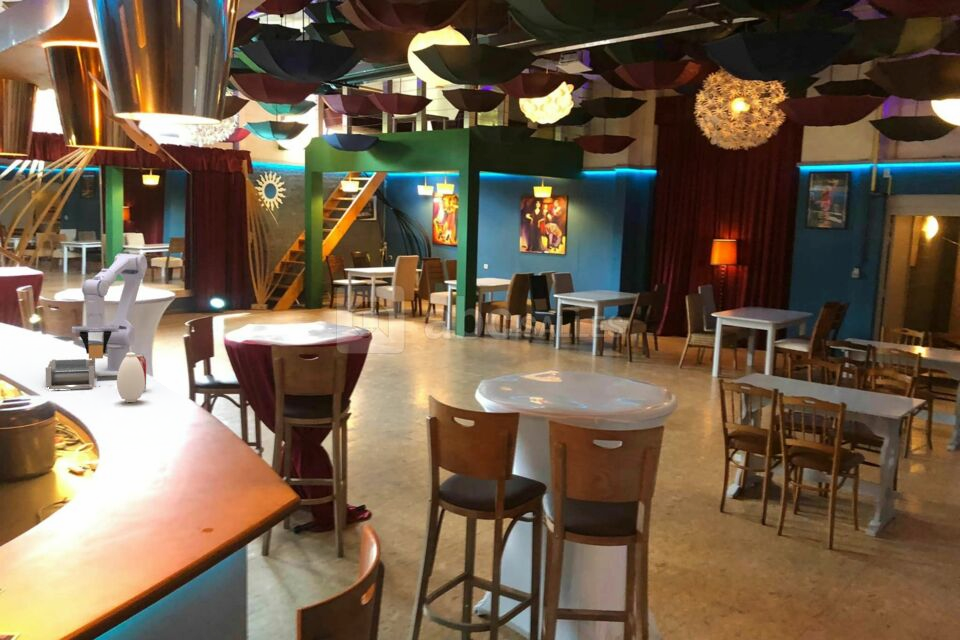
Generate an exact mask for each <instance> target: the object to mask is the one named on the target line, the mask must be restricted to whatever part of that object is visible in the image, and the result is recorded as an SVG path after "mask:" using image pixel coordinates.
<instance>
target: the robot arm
mask: <svg viewBox="0 0 960 640" xmlns="http://www.w3.org/2000/svg"><path fill="white" fill-rule="evenodd" d="M147 260H148V259H147V257H146V256H145V254H143V253H141V254H133V253H121V252H119V253H117V254H116V255H115V256H114V260H113V263H112V264H111V265H110V266H109V268H101V270H100V271H99V272H98V273H97V274H95V276H93V277H92V278H90V279H89V278H88V279H86V280H84V281H83V283H82V285H81V292H82V294H83V299H84V301H85V313H86V314H85V316H86V317H85V319H86V321H85V323H86V324H85V325H84V326H80V325H79V326H72V327H71V333H72V334H76V333H77V334H78V333H79V337H80V339H81V341H82V342H83V345H84V347H85V352H86V354H88V355H89V344H90V343H89V333H101V341H102V344H103V354H106V352H107V369H105V370H104V372H118V371H119V368H120V365H121V363H122V361H123V359H124V357H125V355H126V354H127V353H130V345H131V346H132V345H133V344H134V342H135V334H136V328H135V326H134V325H133V324H132V323H130V322H131V318H132V315H133V311H134V307H135V304H136V300H137V296H138V294H139V290H140V286H141V282H142V280H143V279H144V278H145V275H146V272H147V268H148V261H147ZM117 276H120V278H121V279H123V280H124V285H123V289H122V291H121V294H120V299H119V301H118V306H117V309H116V311H115V312H116V313H115V316H114V319H113V320H110V321H109V322H107V323H106V322H105V321H106V319H105V317H106V316H105V315H106V313H105V296H107V295H108V291H109V289H110V287H111V286H112V285H113V284H115V282H116V280H117ZM106 350H107V351H106Z"/></svg>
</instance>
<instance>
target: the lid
mask: <svg viewBox="0 0 960 640" xmlns="http://www.w3.org/2000/svg"><path fill="white" fill-rule="evenodd" d="M54 360H55V361H52V360H50V361H49V363H48V366H47V367H51V371H56V372H58V371H87V370H89V366H94V362H95V363H96V359H95V360H92V359H85V358H82V359H54Z"/></svg>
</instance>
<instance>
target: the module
mask: <svg viewBox="0 0 960 640" xmlns="http://www.w3.org/2000/svg"><path fill="white" fill-rule="evenodd" d="M88 344H89V354H88V360H92V359H95V360H97V359H104V353H103V344H104V343H100V342H93V343H88Z"/></svg>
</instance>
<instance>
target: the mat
mask: <svg viewBox="0 0 960 640" xmlns="http://www.w3.org/2000/svg"><path fill="white" fill-rule="evenodd" d="M117 375H118V374H117ZM117 375H115V374H114V375H113V374H112V375H111V374H110V375H97V377H96V382H106V381H107V382H108V381H113V382H114V381H117Z"/></svg>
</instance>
